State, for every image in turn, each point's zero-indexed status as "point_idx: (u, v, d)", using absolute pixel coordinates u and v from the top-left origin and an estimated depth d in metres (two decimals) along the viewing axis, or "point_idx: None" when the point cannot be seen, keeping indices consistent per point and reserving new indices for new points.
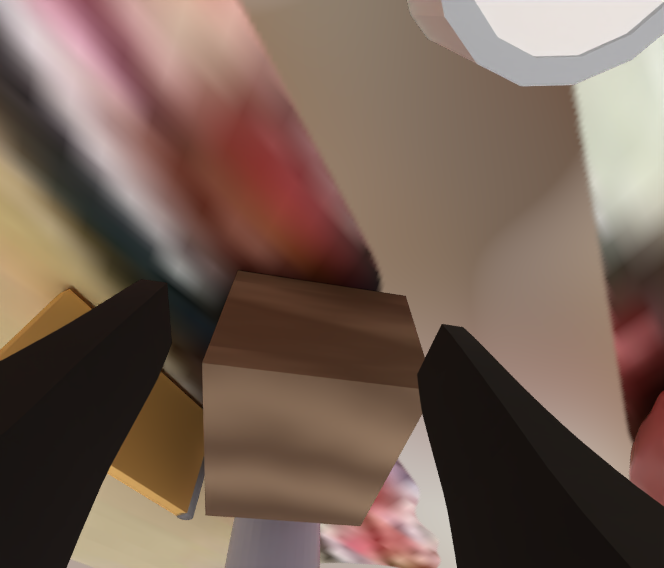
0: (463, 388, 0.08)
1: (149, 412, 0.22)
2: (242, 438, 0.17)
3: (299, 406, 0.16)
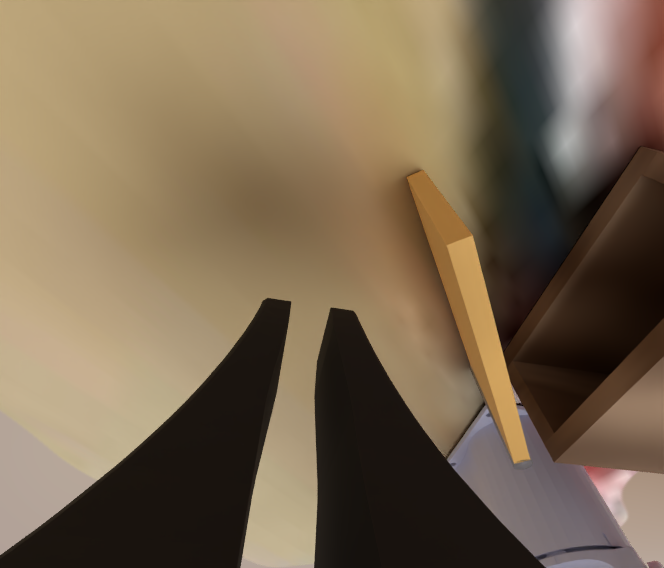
0: (332, 373, 0.08)
1: None
2: None
3: None
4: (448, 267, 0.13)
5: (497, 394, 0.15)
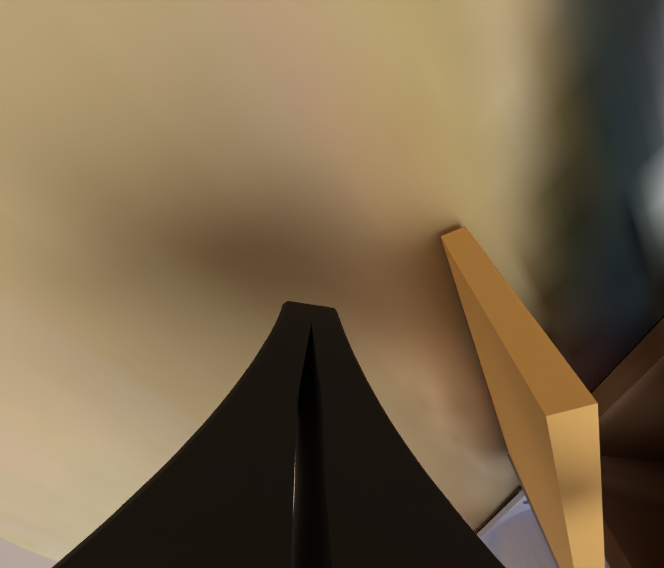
0: (309, 369, 0.07)
1: None
2: None
3: None
4: (523, 407, 0.08)
5: None
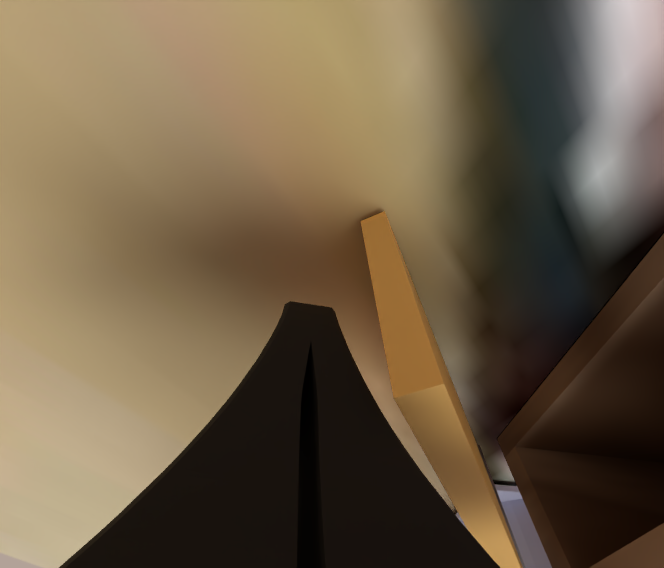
0: (306, 369, 0.07)
1: (473, 439, 0.13)
2: None
3: None
4: None
5: None
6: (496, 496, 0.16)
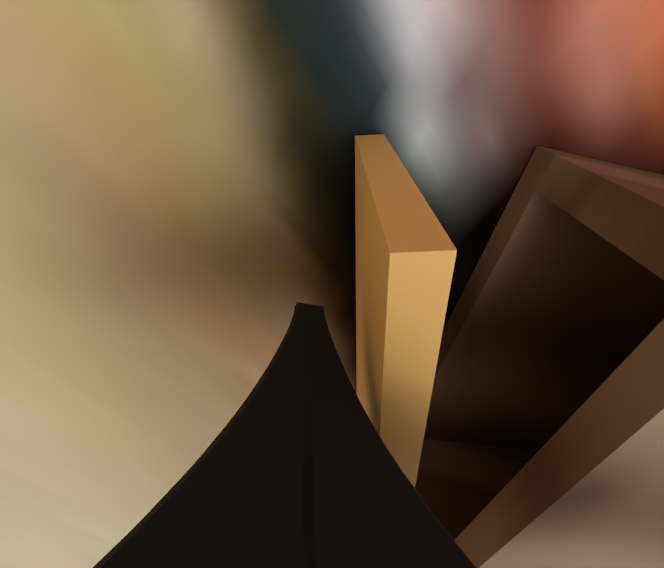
0: None
1: None
2: (654, 493, 0.07)
3: None
4: (373, 304, 0.06)
5: None
6: None
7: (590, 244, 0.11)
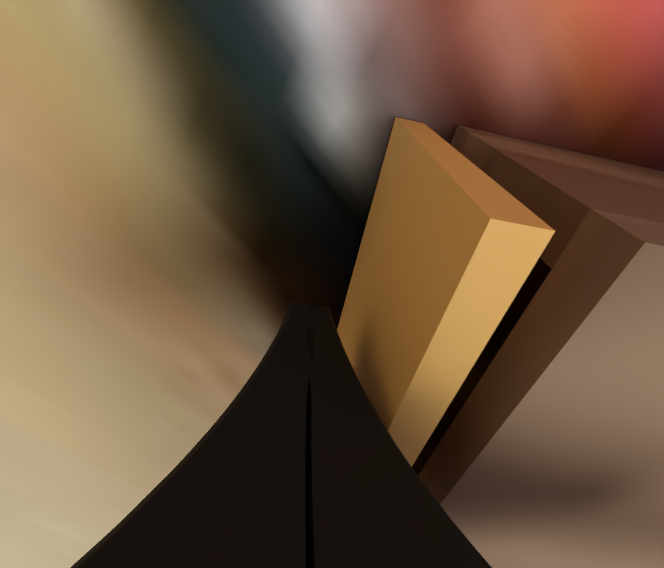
0: None
1: None
2: (550, 482, 0.07)
3: None
4: (412, 282, 0.06)
5: None
6: None
7: None
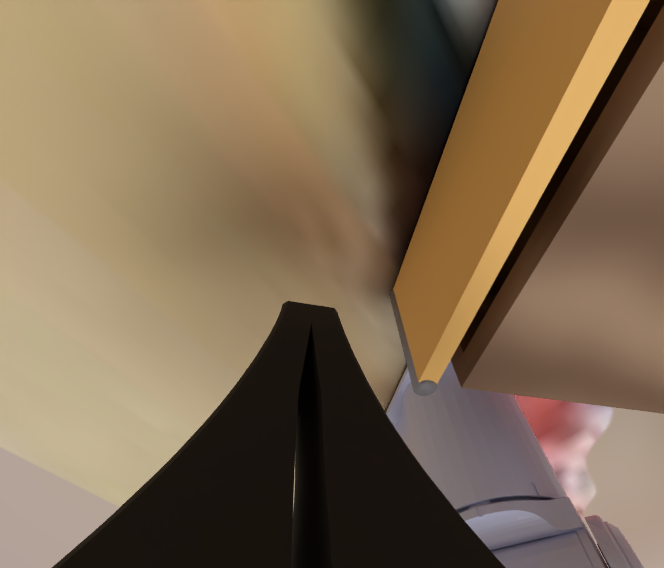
0: (309, 370, 0.07)
1: None
2: (651, 190, 0.10)
3: None
4: (568, 19, 0.09)
5: (487, 257, 0.11)
6: None
7: None
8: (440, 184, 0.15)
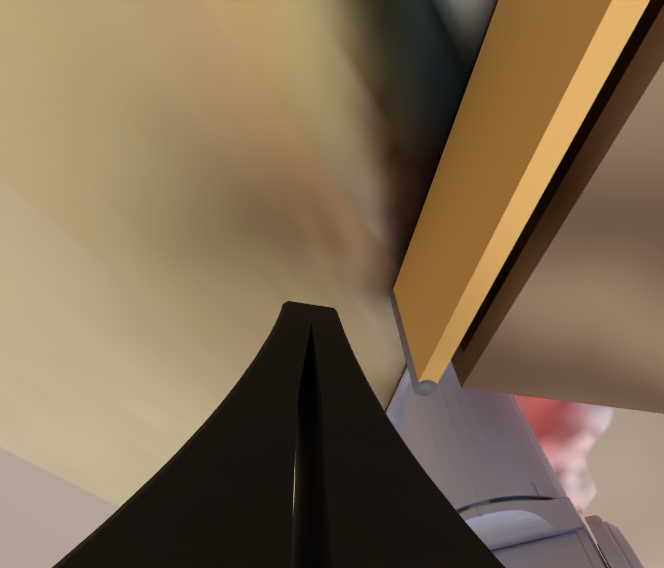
0: (309, 370, 0.07)
1: None
2: (651, 190, 0.10)
3: None
4: (568, 19, 0.09)
5: (487, 257, 0.11)
6: None
7: None
8: (440, 184, 0.15)
